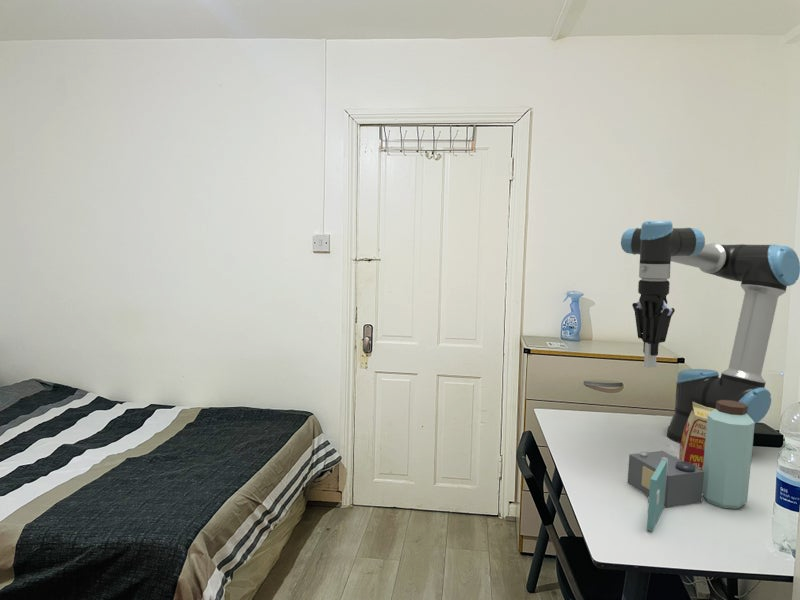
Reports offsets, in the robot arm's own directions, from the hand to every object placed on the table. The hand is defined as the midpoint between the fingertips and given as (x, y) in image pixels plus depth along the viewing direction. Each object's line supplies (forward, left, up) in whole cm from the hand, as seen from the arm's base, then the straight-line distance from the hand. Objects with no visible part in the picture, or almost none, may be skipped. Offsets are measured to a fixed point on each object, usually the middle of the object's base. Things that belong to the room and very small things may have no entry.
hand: (649, 366), depth 151 cm
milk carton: (-16, +3, -31) cm, 35 cm away
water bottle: (-9, +19, -31) cm, 37 cm away
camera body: (+3, +11, -31) cm, 32 cm away
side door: (+14, +21, -30) cm, 40 cm away
